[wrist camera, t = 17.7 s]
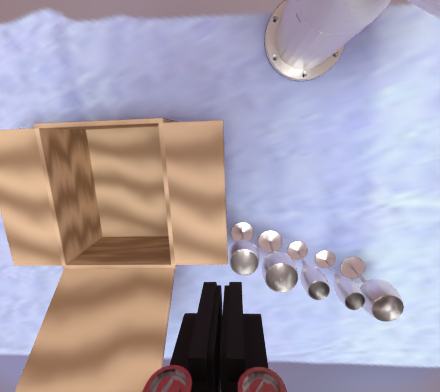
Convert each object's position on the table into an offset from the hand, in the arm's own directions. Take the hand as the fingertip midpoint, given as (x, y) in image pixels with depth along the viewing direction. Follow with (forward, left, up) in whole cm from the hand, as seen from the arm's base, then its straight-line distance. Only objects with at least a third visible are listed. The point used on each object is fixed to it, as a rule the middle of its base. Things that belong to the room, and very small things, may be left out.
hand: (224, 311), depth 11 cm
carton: (+1, -18, -37) cm, 41 cm away
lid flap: (+19, -18, -17) cm, 31 cm away
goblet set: (+15, +13, -37) cm, 42 cm away
